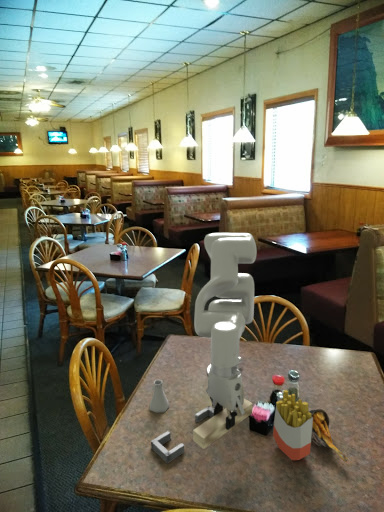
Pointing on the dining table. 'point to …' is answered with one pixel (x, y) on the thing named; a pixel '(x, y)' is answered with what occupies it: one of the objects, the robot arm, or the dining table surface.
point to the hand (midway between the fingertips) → (224, 422)
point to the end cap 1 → (163, 452)
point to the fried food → (323, 431)
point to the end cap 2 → (204, 413)
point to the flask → (159, 398)
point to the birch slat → (218, 426)
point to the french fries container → (293, 426)
